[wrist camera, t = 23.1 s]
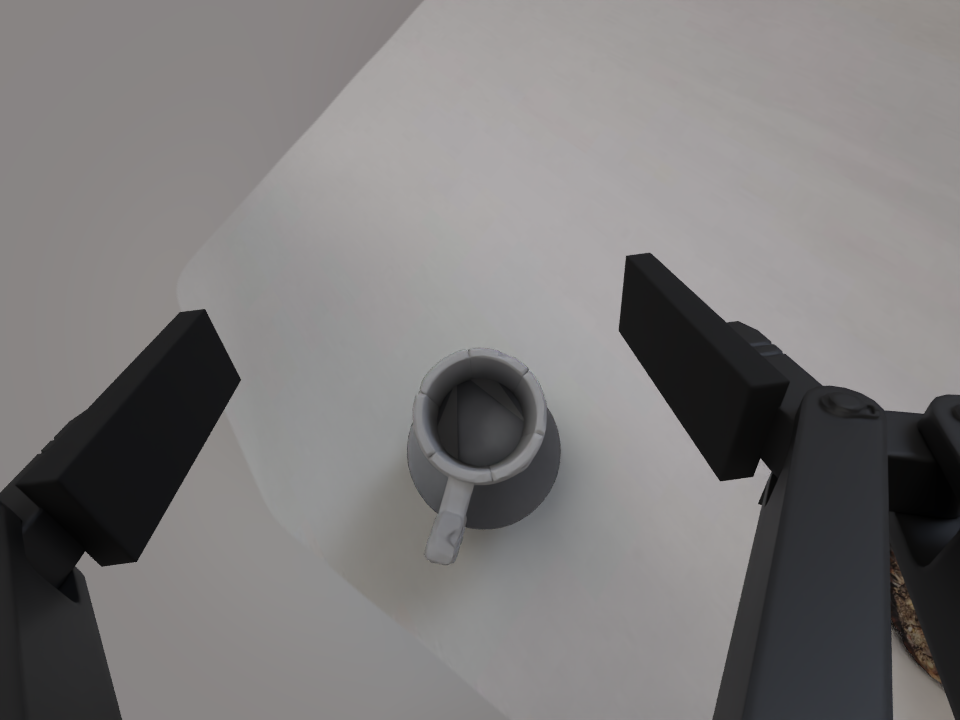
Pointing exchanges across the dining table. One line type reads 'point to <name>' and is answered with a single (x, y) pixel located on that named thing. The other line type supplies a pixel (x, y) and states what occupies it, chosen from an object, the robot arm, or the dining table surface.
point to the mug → (443, 440)
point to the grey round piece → (489, 459)
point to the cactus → (908, 620)
